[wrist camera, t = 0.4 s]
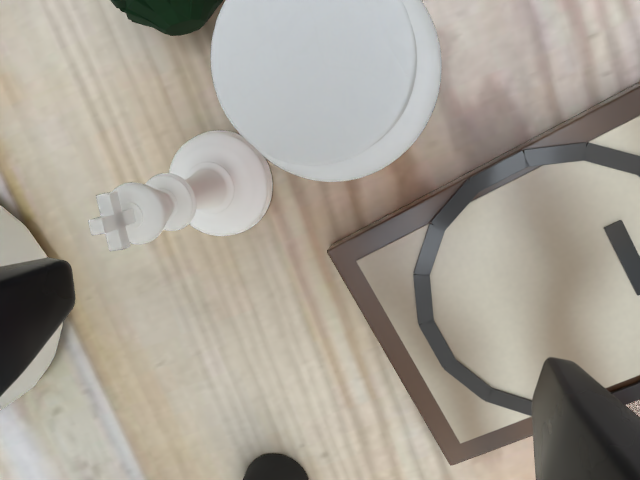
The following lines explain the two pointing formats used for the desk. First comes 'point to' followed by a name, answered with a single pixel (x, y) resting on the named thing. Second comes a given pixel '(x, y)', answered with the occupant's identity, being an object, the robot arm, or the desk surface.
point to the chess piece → (191, 193)
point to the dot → (275, 469)
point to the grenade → (169, 14)
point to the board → (510, 278)
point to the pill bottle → (327, 81)
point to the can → (10, 248)
